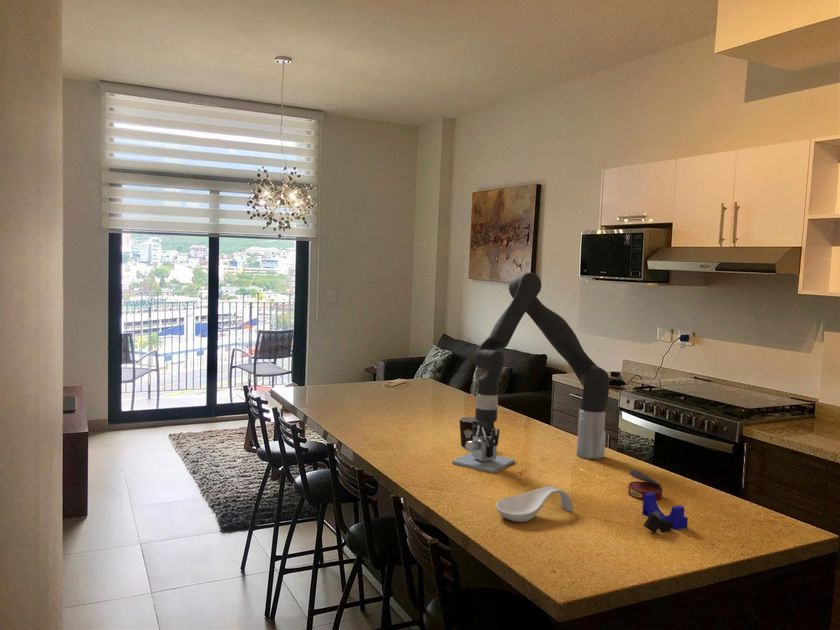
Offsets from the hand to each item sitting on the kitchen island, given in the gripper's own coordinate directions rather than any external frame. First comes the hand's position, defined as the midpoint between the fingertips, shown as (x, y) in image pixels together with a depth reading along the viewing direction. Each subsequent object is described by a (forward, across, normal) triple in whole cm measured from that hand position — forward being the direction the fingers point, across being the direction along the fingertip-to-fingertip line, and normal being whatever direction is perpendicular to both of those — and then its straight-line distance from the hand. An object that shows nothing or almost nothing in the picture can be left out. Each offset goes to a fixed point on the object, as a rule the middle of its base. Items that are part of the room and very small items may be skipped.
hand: (484, 454), depth 231 cm
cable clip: (+3, -63, -19) cm, 66 cm away
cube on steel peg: (+1, 0, +2) cm, 2 cm away
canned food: (+3, -45, -30) cm, 54 cm away
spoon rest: (+4, -46, +13) cm, 48 cm away
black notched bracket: (+3, -67, -11) cm, 68 cm away
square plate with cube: (+3, 0, 0) cm, 3 cm away
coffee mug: (+3, +19, -7) cm, 21 cm away
